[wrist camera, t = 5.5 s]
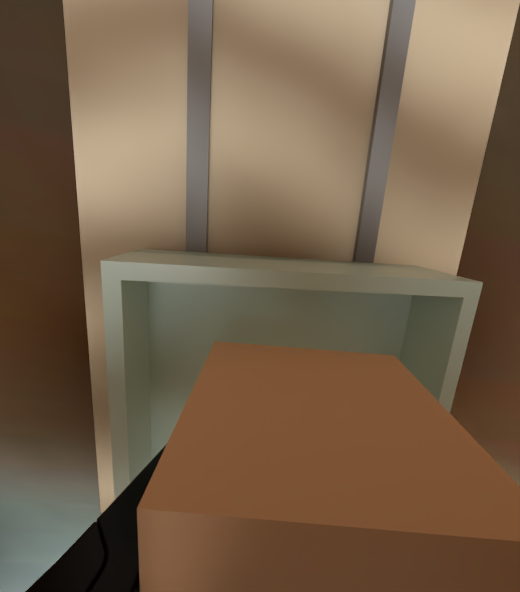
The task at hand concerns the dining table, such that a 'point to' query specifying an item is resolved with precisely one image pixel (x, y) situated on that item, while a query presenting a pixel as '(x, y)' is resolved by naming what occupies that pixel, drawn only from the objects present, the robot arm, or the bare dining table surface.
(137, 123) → the track
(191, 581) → the block
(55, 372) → the dining table surface
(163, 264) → the tray with handle
